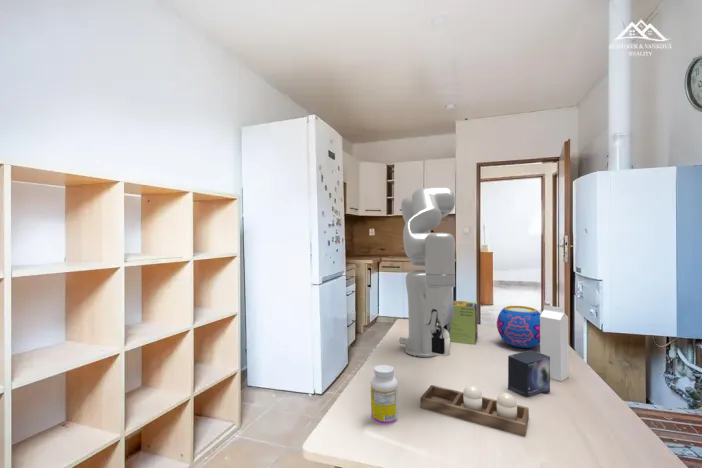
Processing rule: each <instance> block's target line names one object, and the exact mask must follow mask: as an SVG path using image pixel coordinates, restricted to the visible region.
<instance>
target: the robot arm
mask: <svg viewBox="0 0 702 468" xmlns="http://www.w3.org/2000/svg"><path fill="white" fill-rule="evenodd" d="M411 195H412V196H411ZM411 195H409V196H406V197H405V198H403V199H402V201H401V203H400V204H401V206H400V208H401V210H400V211H401V214H402V218H403V220H404V223H405V225H404V226H403V231H402V239H403V240H402V241H403V248H404V253H405V255H406V257H408V259H409V263H410V264H411V265H413V266H416V267H425V268H424V269H413V270H410V271H408V272H407V274H406V275H405V286H406V287H405V288H406V293H407V305H408V308H407V309H408V310H407V311H408V337H407V338H406V337H400V338H399V344H401V345H405V347H404V351H405V353H406V354H407V353H408V354H407V355H409V354H410V356H412V355H413V356H412V357H416V356H418V358H431V357H434V356H436V355H435V354H433V353H438V354H444V353H445V341H444V338H443V328H445V329H446V330H447V331H448V332H449V334H450V321H451V320H452V319H453V301H454V295H453V288H455V287H456V262H455V261H456V260H455V259H456V254H455V253H456V240H455V237H454V236H453V234H451V233H449V232H431V230H433V229H435V228H436V227H438V226H439V225H440V223H441V222H442V219H443V218H446V217H447V216H449V214H451V213H452V211H453V210H454V208H455V204H456V198H455V197H456V196H455V193H454V192H453V190H452V189H451V188H449V187H445V186H441V187H439V186H438V187H437V186H436V187H420V188H418V189H416V190H415V191H414V192H413V193H412V194H411ZM438 324H439V325H438ZM437 328H440V331H439V329H437Z"/></svg>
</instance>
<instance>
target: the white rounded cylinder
mask: <svg viewBox="0 0 702 468" xmlns="http://www.w3.org/2000/svg"><path fill="white" fill-rule="evenodd" d="M437 329H439V331H440V328H437ZM443 338H444V341H445V353H444V354H438V353H433V354H435V356H437V357H438V356H439V357H446V356H450V355H451V341H450V334H449V332H448V331H447V330H446V329H445V328H443Z"/></svg>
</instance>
